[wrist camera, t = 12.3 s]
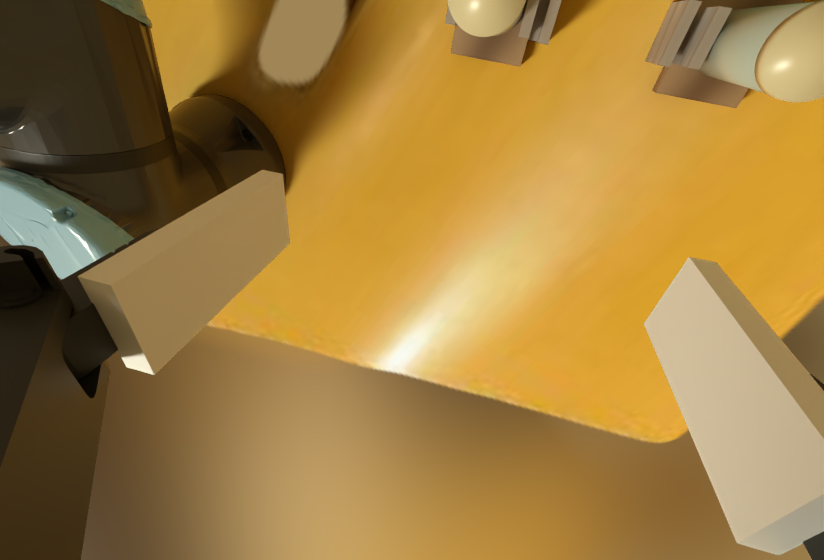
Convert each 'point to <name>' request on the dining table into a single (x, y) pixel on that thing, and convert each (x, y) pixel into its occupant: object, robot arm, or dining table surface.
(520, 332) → the dining table surface
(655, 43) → the fuse clips
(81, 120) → the robot arm
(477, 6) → the cream round cylinder
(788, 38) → the fuse
